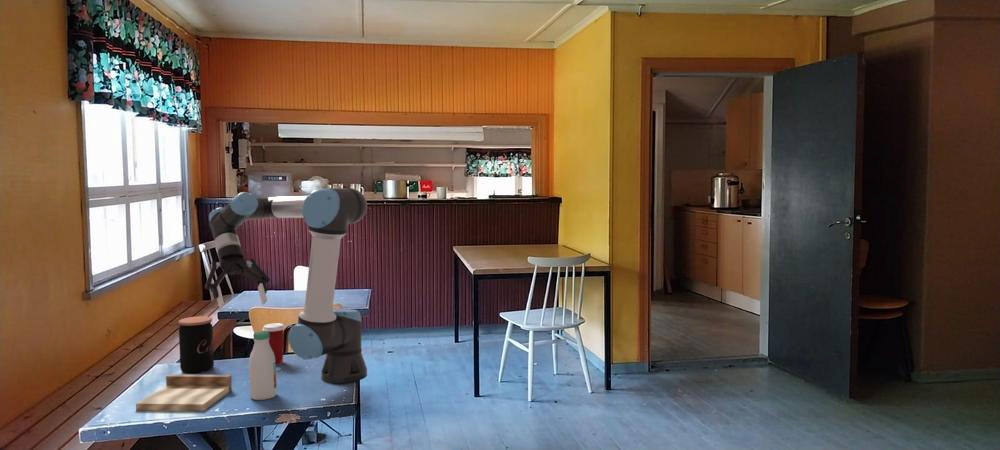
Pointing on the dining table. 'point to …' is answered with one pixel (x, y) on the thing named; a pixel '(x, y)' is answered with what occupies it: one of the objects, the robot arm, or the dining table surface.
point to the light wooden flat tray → (187, 393)
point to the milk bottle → (262, 368)
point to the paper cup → (276, 340)
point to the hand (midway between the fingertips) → (243, 304)
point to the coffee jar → (196, 344)
